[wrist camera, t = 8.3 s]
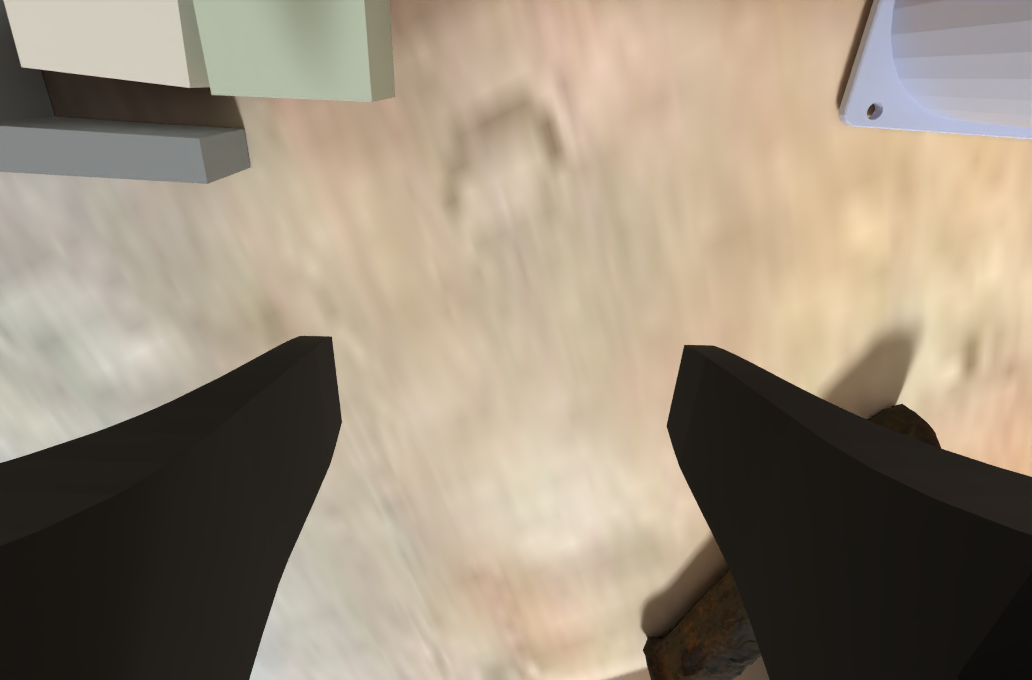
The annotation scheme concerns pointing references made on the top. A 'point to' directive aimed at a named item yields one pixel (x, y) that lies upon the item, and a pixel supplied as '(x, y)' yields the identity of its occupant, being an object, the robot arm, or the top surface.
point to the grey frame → (102, 136)
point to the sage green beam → (298, 48)
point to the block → (111, 39)
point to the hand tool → (738, 606)
